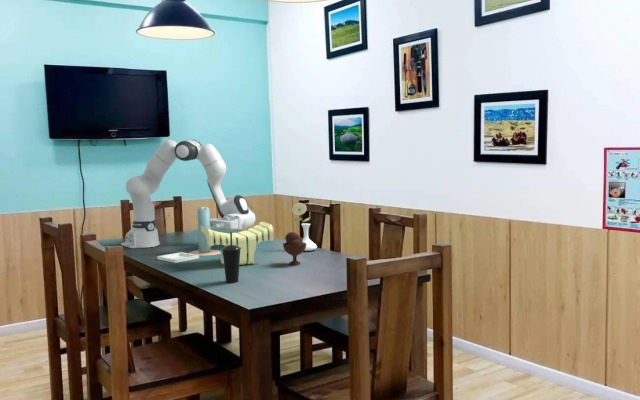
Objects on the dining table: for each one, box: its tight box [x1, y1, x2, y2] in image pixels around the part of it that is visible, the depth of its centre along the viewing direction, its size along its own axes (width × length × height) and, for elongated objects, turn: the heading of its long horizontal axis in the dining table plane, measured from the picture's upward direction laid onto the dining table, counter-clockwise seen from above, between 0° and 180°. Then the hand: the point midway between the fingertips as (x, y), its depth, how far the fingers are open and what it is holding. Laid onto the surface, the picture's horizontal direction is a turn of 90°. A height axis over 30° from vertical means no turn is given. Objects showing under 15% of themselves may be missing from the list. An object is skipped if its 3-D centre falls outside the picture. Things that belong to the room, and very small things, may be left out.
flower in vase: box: [291, 202, 318, 252], centre depth 300 cm, size 13×11×25 cm
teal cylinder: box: [197, 206, 212, 253], centre depth 292 cm, size 6×6×23 cm
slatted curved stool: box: [201, 221, 275, 266], centre depth 268 cm, size 30×16×18 cm, turn 115°
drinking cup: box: [221, 231, 241, 284], centre depth 231 cm, size 8×8×20 cm
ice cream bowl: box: [282, 231, 306, 266], centre depth 264 cm, size 11×11×15 cm
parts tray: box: [156, 251, 200, 264], centre depth 278 cm, size 14×14×2 cm
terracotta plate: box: [188, 249, 222, 257], centre depth 293 cm, size 16×16×1 cm
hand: (209, 225), depth 294 cm, fingers open, 8 cm apart
